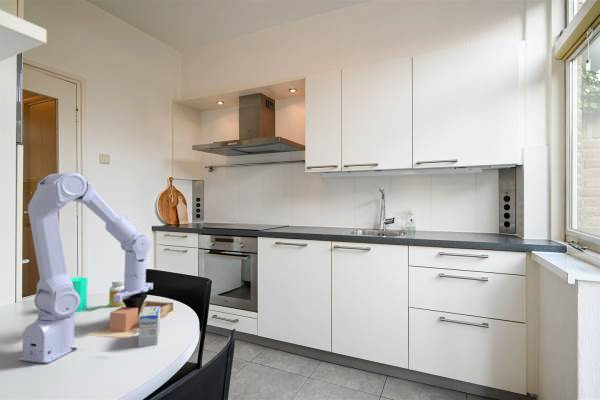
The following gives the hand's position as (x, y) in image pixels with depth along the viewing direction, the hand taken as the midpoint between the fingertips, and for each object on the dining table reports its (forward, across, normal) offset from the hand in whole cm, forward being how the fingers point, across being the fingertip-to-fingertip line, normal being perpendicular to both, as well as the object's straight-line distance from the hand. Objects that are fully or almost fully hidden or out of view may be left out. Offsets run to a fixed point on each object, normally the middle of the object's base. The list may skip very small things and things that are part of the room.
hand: (133, 319), depth 93 cm
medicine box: (+2, -10, -12) cm, 16 cm away
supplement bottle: (+2, +14, +17) cm, 22 cm away
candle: (+2, +8, +29) cm, 30 cm away
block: (+1, -4, 0) cm, 4 cm away
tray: (+2, +1, 0) cm, 2 cm away
